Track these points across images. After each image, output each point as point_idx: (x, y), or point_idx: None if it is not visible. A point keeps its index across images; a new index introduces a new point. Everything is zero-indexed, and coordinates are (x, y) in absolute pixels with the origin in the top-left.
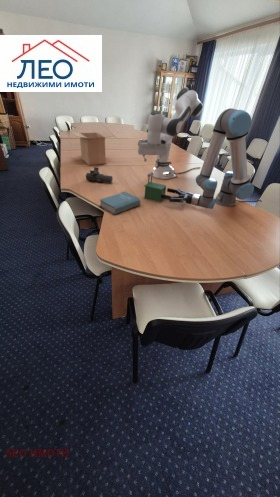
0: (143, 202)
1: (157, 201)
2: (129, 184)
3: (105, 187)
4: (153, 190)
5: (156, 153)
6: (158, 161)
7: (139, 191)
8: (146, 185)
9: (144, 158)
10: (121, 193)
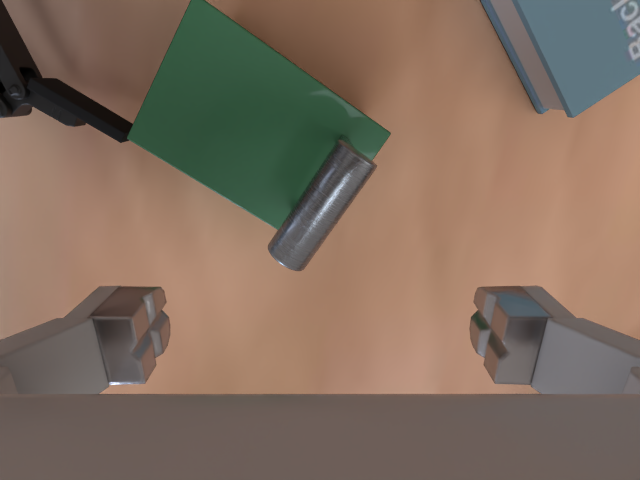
0: (391, 17)
1: None
2: (429, 379)
3: (628, 325)
4: None
5: (90, 451)
6: (131, 287)
7: (378, 255)
8: (367, 129)
9: (588, 326)
10: (626, 68)
